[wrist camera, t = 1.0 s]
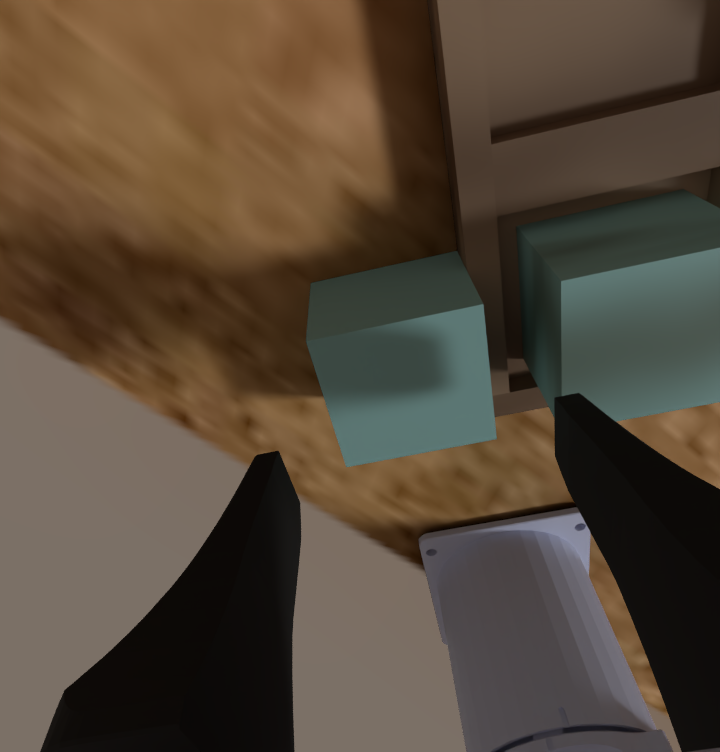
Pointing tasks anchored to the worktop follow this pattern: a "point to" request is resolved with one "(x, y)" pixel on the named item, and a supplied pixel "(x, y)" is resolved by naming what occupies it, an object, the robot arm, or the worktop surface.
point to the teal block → (402, 359)
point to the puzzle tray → (588, 195)
